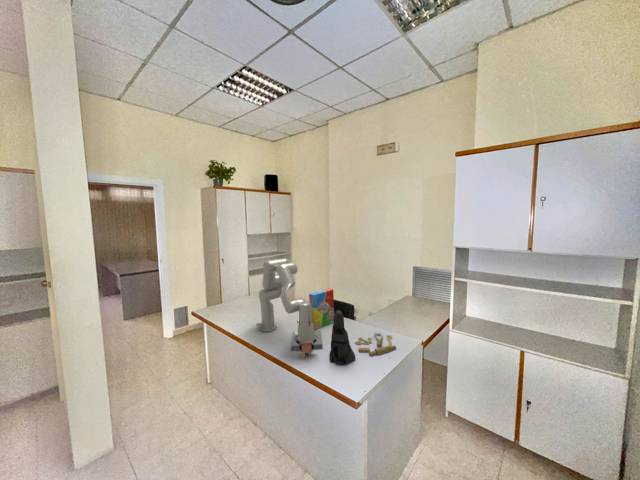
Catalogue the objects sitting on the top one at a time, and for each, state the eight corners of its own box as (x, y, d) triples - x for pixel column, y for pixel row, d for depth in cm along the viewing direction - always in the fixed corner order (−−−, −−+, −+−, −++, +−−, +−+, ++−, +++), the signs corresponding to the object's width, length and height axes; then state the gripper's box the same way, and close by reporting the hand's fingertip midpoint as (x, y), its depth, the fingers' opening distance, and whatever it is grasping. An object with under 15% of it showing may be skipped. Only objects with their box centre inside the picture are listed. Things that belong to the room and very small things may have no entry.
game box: (314, 330, 190) (312, 295, 187) (309, 328, 194) (308, 293, 191) (334, 322, 203) (333, 289, 200) (330, 320, 207) (329, 287, 204)
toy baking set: (377, 330, 187) (377, 325, 187) (407, 343, 167) (407, 338, 167) (345, 345, 167) (345, 340, 167) (375, 362, 147) (375, 356, 147)
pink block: (302, 357, 154) (301, 346, 153) (302, 352, 160) (301, 341, 159) (311, 357, 154) (311, 346, 153) (311, 351, 160) (311, 341, 159)
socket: (291, 350, 162) (291, 344, 162) (293, 335, 182) (292, 330, 182) (322, 348, 163) (322, 343, 163) (320, 334, 183) (320, 329, 183)
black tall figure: (339, 368, 141) (337, 316, 138) (324, 358, 152) (322, 309, 149) (357, 359, 149) (355, 310, 146) (341, 350, 160) (340, 304, 158)
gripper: (290, 325, 151) (292, 354, 153) (319, 323, 152) (321, 352, 153) (291, 320, 158) (293, 347, 160) (319, 318, 159) (320, 346, 161)
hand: (306, 349), depth 157 cm, fingers closed on pink block, 6 cm apart
